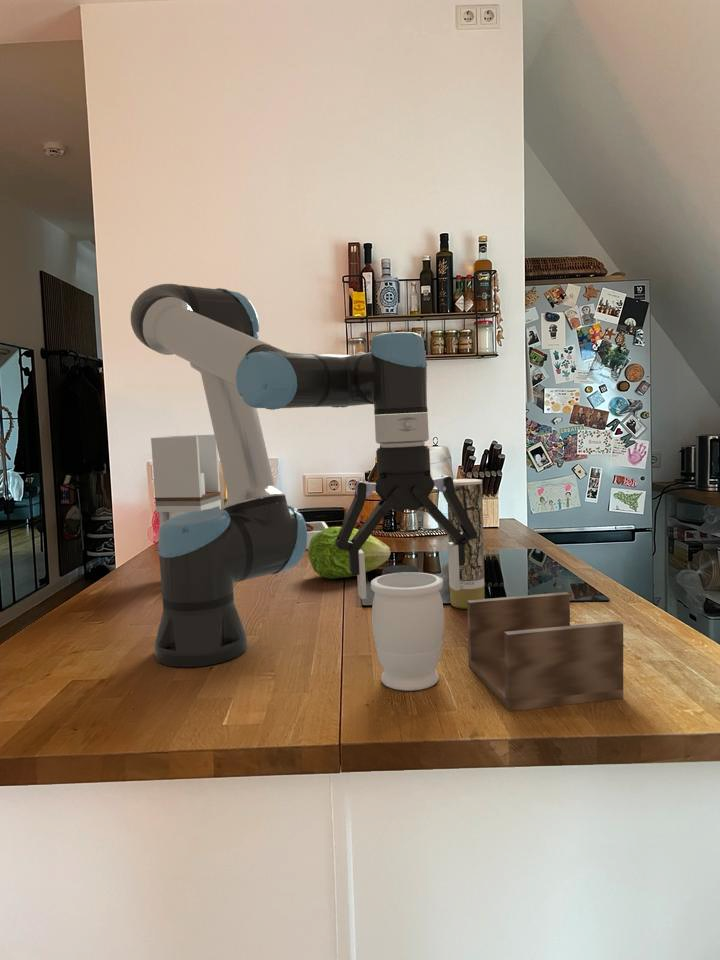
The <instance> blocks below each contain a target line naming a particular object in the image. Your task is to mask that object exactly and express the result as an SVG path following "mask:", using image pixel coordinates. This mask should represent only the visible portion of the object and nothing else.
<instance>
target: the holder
mask: <svg viewBox="0 0 720 960" xmlns="http://www.w3.org/2000/svg"><path fill="white" fill-rule="evenodd" d="M570 595H571V594H570V593H569V592H567V591H566V592H565V591H564V592H563V591H562V592H550V593H540V594H539V593H537V594H528V595H518V596H517V595H515V596H506V597H503V596H502V597H494V598H493V597H492V598H485V599H480V600H468V601H467V609H466V610H467V611H466V612H467V613H466V615H467V644H468V646H467V648H468V649H467V653H468V667H469V668H470V669H471V670H472V671H473V672H474V674H475V675H476V676H477V677H478V679H480V680H481V682H482V683H483V684H484V685H485V686H486V687H487V688H488V689H489V690H490V691H491V692H492V694H493V695H494V696H495V698H497V699H498V700H499V702H500V703H501V704H502V705H503V706H504V708H505V709H506V710H507V711H508V712H513V711H514V712H515V711H516V712H517V711H524V710H530V709H531V710H532V709H539V708H548V707H550V708H551V707H558V706H568V705H575V704H584V703H594V702H601V701H602V702H603V701H610V700H618V699H619V700H620V699H624V623H622V622H621V621H619V620H617V621H616V620H615V621H607V622H596V623H595V622H594V623H583V624H574V625H571V604H570V603H571V602H570V601H571V597H570Z"/></svg>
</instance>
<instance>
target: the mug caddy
mask: <svg viewBox="0 0 720 960" xmlns="http://www.w3.org/2000/svg"><path fill="white" fill-rule="evenodd" d="M305 523H308V524H309V525H311V526H312V527H313V528H314V529H313V531H312V532H307V545H306V549H305V551H306V550H307V551H308V549H309V545H310V541H311V538H312V537H313V536H315V535H316V534H318V533H319V532H321V531H323V530H324V529H327V528H329V526H328V525H327V523H326V522H325V520H324V521H323V520H322V521H310V522H308V521H307V522H306V521H305Z"/></svg>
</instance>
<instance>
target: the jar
mask: <svg viewBox="0 0 720 960" xmlns="http://www.w3.org/2000/svg"><path fill="white" fill-rule="evenodd" d="M443 581H444V579H443V577H441V576H438V575H437V574H433V573H427V572H421V573H419V572H402V573H392V574H386V575H382V574H381V575H380V576H376V577H375V578H373V579H372V580H371V581H370V588H371V590H372V592H374V596H373V599H372V609H371V628H372V634H373V639H374V643H375V649H376V654H377V658H378V661H379V663H380V666H381V667H382V669H383V672H382V674H381V677H380V680H381V683H382V684H383V685H384V686H386V687H388V688H389V689H393V690H398V691H409V692H411V691H420V690H425V689H428V688H430V687H432V686H434V685H435V684H436V683H438V682H439V674H438V672H437V669H436V668H437V666H438V663H439V662H440V658H441V654H442V646H443V643H442V641H443V639H444V633H445V612H444V611H445V610H444V605H443V599H442V596H441V593H440V590H442V589H443V587H444V583H443Z"/></svg>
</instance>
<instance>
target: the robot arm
mask: <svg viewBox="0 0 720 960" xmlns="http://www.w3.org/2000/svg"><path fill="white" fill-rule="evenodd" d="M130 324H131V325H130V326H131V328H132V331H133V333H134V335H135V337H136V338H137V339H138V340H139V342H141V344H143V345H144V346H145V347H147V348H148V349H150V350H152V351H154V352H157V353H158V354H161V355H164V356H166V355H167V356H171V355H176V356H177V357H179V358H181V359H183V360H185V361H187V362H189V364H190V367H191V368H192V369H194V370H195V371H197V372H199V374H200V376H201V380H202V381H201V382H202V384H203V388H204V393H205V394H204V395H205V399H206V403H207V406H208V407H207V408H208V413H209V415H210V416H209V417H210V419H211V420H210V422H211V425H212V426H211V427H212V430H213V433H214V434H213V435H215V439H216V444H217V449H218V459H219V461H220V467H221V470H222V475H223V480H224V484H225V488H226V489H225V490H226V493H227V500H226V502H225V503H224V504H223V506H222V507H221V509H206V510H202V511H193V512H189V513H185V514H181V515H178V516H175V517H173V518H171V519H169V520H167V521H165V522H164V523H163V524H162V526H161V527H160V526H159V530H158V541H157V542H158V544H157V545H158V546H157V553H158V556H159V557H158V558H159V570H160V586H162V587H161V597H162V614H161V617H160V622H159V626H158V629H157V634H156V637H155V641H154V655H155V656H154V657H155V660H156V661H157V662H158V663H160V664H163V665H165V666H169V667H175V668H176V667H179V668H194V667H195V668H197V667H205V666H206V667H207V666H210V665H211V666H212V665H216V664H220V663H224V662H227V661H230V660H233V659H235V658H237V657H239V656H241V655H242V654H243V653H245V652H246V650H247V649H248V639H247V638H248V637H247V636H248V635H247V632H246V629H245V627H244V625H243V622H242V620H241V617H240V614H239V612H238V610H237V607H236V603H235V596H234V595H235V594H234V584H235V583H238V582H239V583H240V582H243V581H247V580H252V579H256V578H260V577H265V576H269V575H275V574H279V573H282V572H284V571H286V570H290V569H292V568H294V567H295V566H297V565H298V563H300V561H301V560H302V558H303V555H304V553H305V552H306V550H305V549H306V545H307V527H306V520H305V518H304V516H303V514H302V513H300V510H298V509H297V508H296V507H294V506H291V505H288V502H287V498H286V494H285V493H284V492H282V491H281V490H279V489H277V488H276V486H275V482H274V478H273V473H272V469H271V464H270V461H269V460H270V459H269V456H268V451H267V448H266V443H265V440H264V435H263V429H262V426H261V421H260V417H259V413H258V409H264V410H265V409H266V410H269V411H270V410H271V411H274V410H279V409H295V408H296V409H297V408H322V407H323V408H324V407H325V408H328V407H330V408H347V407H354V406H355V407H356V406H363V405H373V409H374V410H373V412H374V432H375V433H374V434H375V443H376V444H379V447H377V448H376V450H375V456H376V472H377V473H376V475H377V476H376V480H375V482H365V481H361V480H357V481H356V483H355V485H354V486H355V487H354V489H355V490H354V497H353V499H352V502H351V505H350V506H349V509H348V511H347V514H346V516H345V518H344V521H343V522H342V525H341V526H340V527H341V529H340V532H339V534H338V536H337V539H336V541H335V544H336V545H337V547H338V548H339V549H341V550H342V549H343V550H346V551H348V552H349V566H350V571H351V573H352V575H357V576H356V577H357V579H356V580H357V593H358V595H357V596H359V599H360V600H365V599H367V598H368V597H367V581H366V580H367V579H366V572H365V556H364V552H363V551H362V550H360V548H361V547H362V545H363V544H364V543H365V541H366V540H367V539H368V537H369V536H370V535H372V533H373V532H374V531H375V530H376V528H377V527H378V525H379V524H380V523H381V521H382V520H383V519H384V517H385V516H387V515H388V514H389V513H390V511H393V512H404V511H406V510H408V511H418V509H421V508H423V510H425V511H426V513H427V514H428V515H429V516H430V517H431V518H432V519H433V520H434V521H435V522H436V523H437V525H439V527H440V528H442V529H443V531H444V532H445V534H446V535H448V537H449V536H450V537H451V538H452V539H453V540H454V543H453V542H449V541H448V542H447V557H448V558H447V560H448V561H447V562H448V582H449V583H448V586H449V588H450V587H451V588H452V589H454V590H455V591H456V590H460V579H459V566H464V564H465V544H466V543H467V541H468V540H470V539H475V538H476V537H477V532H476V530H475V528H474V527H473V525H472V523H471V521H470V519H469V517H468V515H467V514H466V512H465V510H464V508H463V506H462V504H461V502H460V501H459V499H458V497H457V495H456V493H455V490H454V484H453V480H454V479H453V478H452V477H451V476H450V475H449V476H448V475H441V477H436V478H432V474H431V458H430V456H431V454H430V453H431V452H430V447H429V446H428V445H426V442H428V441H429V440H430V439H429V438H430V433H429V431H430V430H429V419H428V416H429V415H428V413H429V412H428V411H429V410H428V402H427V401H428V398H427V396H428V395H427V392H428V391H427V390H428V389H427V387H428V386H427V385H428V384H427V381H428V379H427V377H428V375H427V369H428V368H427V366H428V361H427V359H426V358H427V357H426V351H425V350H426V349H425V340H424V337H422V335H420V334H419V333H416V332H411V331H400V332H399V331H398V332H386V333H380V334H377V335H374V336H373V337H371V341H370V349H369V350H370V351H369V352H365V353H355V354H324V353H323V354H321V353H319V354H318V353H296V352H290V351H285V350H283V349H280V348H277V347H276V346H273V345H272V344H269V343H267V342H265V341H262V340H260V339H259V336H258V333H259V332H260V323H259V317H258V314H257V311H256V308H255V307H254V305H253V304H252V302H251V300H249V299H248V298H247V297H246V296H245V295H243V294H241V293H240V292H237V291H232V290H228V289H227V288H221V287H219V288H210V287H201V286H191V285H182V284H177V283H160V284H157V285H153V286H152V287H149V288H147V289H145V290H144V291H142V293H140V294H139V296H137V298H136V299H135V301H134V303H133V304H132V307H131V310H130ZM435 487H436V490H437V491H438V492H439V493H440V492H441V493H442V495H443V497H444V499H445V501H446V503H447V506H448V505H449V507H450V508H451V510H452V512H453V514H454V516H455V518H456V520H457V521H458V523H459V525H460V527H461V529H462V532H459V531H458V530H457V529H456V528H455V527H454V525H453V524H452V523H451V522H450V521H449V520H448V517H446V515H445V514H444V513H443V512H442V511H441V510H440V509H439V508H438V506H436V504H435V503H434V502H433V501H432V500H431V499H430V498H429V496H430V495H431V493H432V491H433V490H434V488H435ZM373 492H375V493H376V494H377V496H379V497H380V500H379V501H378V503H377V504H376V505H375V506H374V509H373V510H372V512H371V513H370V514H369V516H368V517H367V518H366V520H365V521H363V523H362V525H361V526H360V528H358V532H357V533H356V534H355V536H354V537H353V538H352V540H351V541H348V540H349V538H350V536H351V533H352V531H353V529H355V527H356V524H357V522H358V520H359V518H360V515H361V512H362V510H363V508H364V506H365V502H366V499H367V498H370V497H371V495H372V493H373Z"/></svg>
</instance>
